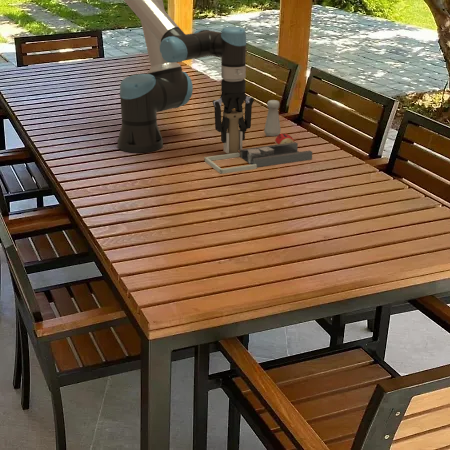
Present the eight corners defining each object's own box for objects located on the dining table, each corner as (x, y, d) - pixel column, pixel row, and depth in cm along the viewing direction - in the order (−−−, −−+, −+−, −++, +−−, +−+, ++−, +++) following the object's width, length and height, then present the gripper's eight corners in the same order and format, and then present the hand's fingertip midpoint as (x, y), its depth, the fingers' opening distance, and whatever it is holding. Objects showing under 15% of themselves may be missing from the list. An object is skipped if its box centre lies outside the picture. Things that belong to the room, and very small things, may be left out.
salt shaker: (275, 140, 249) (276, 103, 244) (261, 137, 252) (262, 101, 247) (283, 136, 254) (284, 100, 249) (268, 133, 257) (270, 97, 252)
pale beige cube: (264, 162, 225) (265, 151, 224) (258, 159, 228) (258, 148, 226) (273, 160, 227) (274, 149, 225) (267, 157, 230) (267, 146, 228)
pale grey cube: (249, 163, 224) (249, 153, 222) (247, 160, 227) (247, 149, 225) (260, 163, 224) (260, 152, 223) (258, 159, 227) (258, 149, 226)
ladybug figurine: (279, 150, 240) (280, 140, 238) (270, 142, 248) (270, 132, 247) (298, 149, 241) (299, 139, 240) (288, 140, 250) (289, 131, 248)
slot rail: (255, 170, 221) (255, 159, 219) (240, 160, 230) (240, 149, 229) (311, 162, 228) (312, 151, 227) (295, 152, 237) (295, 142, 236)
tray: (220, 176, 215) (220, 170, 215) (204, 163, 226) (204, 157, 225) (256, 171, 220) (256, 164, 219) (238, 159, 231) (238, 152, 230)
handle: (244, 158, 231) (244, 113, 225) (224, 160, 230) (224, 114, 224) (240, 154, 235) (241, 109, 229) (221, 155, 234) (221, 110, 228)
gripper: (212, 83, 216) (213, 157, 225) (263, 79, 222) (261, 151, 232) (203, 78, 222) (204, 150, 232) (253, 74, 228) (251, 144, 238)
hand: (232, 150), depth 232 cm, fingers closed on handle, 4 cm apart
